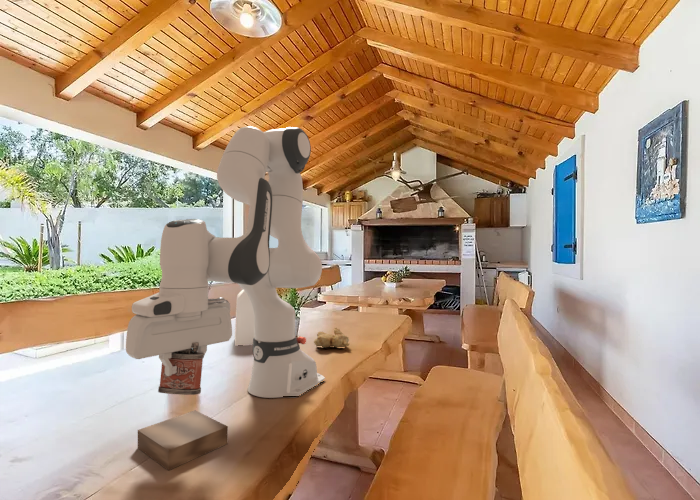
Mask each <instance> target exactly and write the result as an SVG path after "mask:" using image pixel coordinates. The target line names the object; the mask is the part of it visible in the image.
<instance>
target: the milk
mask: <svg viewBox="0 0 700 500" xmlns="http://www.w3.org/2000/svg"><path fill="white" fill-rule="evenodd" d="M235 304H236V305H235V306H236V308H235V324H234V325H235V327H234V328H235V329H234V330H235V331H234V345H235V346H236V347H239V346H238V345H243V346H250V345H249V344H253V338H254V337H255V324H254V311H253V307H252V304H251V301H250V299H249V297H248V295H247V294H246V292H245V291H244V290H243V289H242V290H240V291H239V292H238V293H237V295H236V303H235Z"/></svg>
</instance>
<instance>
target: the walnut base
mask: <svg viewBox="0 0 700 500" xmlns="http://www.w3.org/2000/svg"><path fill="white" fill-rule="evenodd" d="M228 433H229V430H228V426H227V425H226V424H224V423H222V422H220V421H217V420H216V419H214V418H212V417H209V416H208V415H207V414H206V415H205V414H203V413H202V412H200V411H198V410H191V411H189V412H186V413H183V414H180V415H178V416H174V417H172V418H169V419H166V420H163V421H160V422H157V423H154V424H151V425H148V426H145V427H142V428H140V429H137V449H138V450H140V451H141V452H143V453H144V454H145V455H146V456H147V457H149V458H151V459H152V460H154V462H156V463H157V464H159V465H160V466H162V467H163V468H164V469H166V471H170V470H172V469H175V468H176V467H179V466H181V465H184V464H186V463H188V462H191V461H192V460H195V459H197V458H200V457H201V456H204V455H207V454H208V453H211V452H213V451H215V450H217V449H219V448H221V447H224V446H226V445H227V444H228V442H229V441H228V435H229V434H228Z"/></svg>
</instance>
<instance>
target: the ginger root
mask: <svg viewBox="0 0 700 500" xmlns="http://www.w3.org/2000/svg"><path fill="white" fill-rule="evenodd" d="M333 330H334V331H333V333H334V334H331V333H327V332H325V331H318V332H317V333H316V336H317V338H315V339H314V341H313V343H314V345H315V346H316V347H317V346H322V347H325V348H331V347H330V346H334V347H345V346H346V347H349V346H350V343H349V342H350V338H349V336H348V335H345V334H344V333H343V332H342V331H341V330H340V328H337V327H334V328H333ZM334 347H333V348H334ZM346 347H345V348H346Z"/></svg>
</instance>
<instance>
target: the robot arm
mask: <svg viewBox="0 0 700 500" xmlns="http://www.w3.org/2000/svg"><path fill="white" fill-rule="evenodd" d="M311 148H312V147H311V142H310V139H309V136H308V135H307V133H306V132H305V131H304V130H303V129H302V128H300V127H293V126H292V127H291V126H288V127H286V128H275V129H269V130H266V131H263V130H261V129H259V128H258V127H254V126H244V127H243V126H242V127H241V128H239V129H237V130H236V132H235V133H234V134H233V136H232V137H231V138H230V139H229V142H228V143H227V145H226V148H225V149H224V151H223V153H222V155H221V158H220V160H219V161H220V162H219V164H218V166H217V171H216V178H217V182H218V185H219V186H220V188H221V190H222V191H223V192H224V193H225V194H226V195H228V196H229V197H230V198H231V199H234V200H235V201H237V202H240V203H242V204H245V205H247V206H249V209H248V216H247V223H246V231H245V233H244V234H242V235H240V236H239V237H219V236H216V235H214V234H212V233H211V232H209V230H208V228H207V224H206V221H205V220H203V219H198V218H186V219H177V220H172V221H171V220H170V221H169V222H167V223H165V225H164V227H163V230H162V233H161V239H160V246H159V247H160V248H159V264H160V265H159V267H160V269H161V279H160V283H159V292H156V293H153V294H152V295H149V296H147V297H144V298H142V299H139V300H137V301H135V302H133V303H132V305H131V312H132V313H133V314H135V315H134V316H132V317H131V318H130V320H129V322H128V325H127V329H126V336H125V337H126V338H125V352H126V353H127V354H128V356H129V357H131V358H133V359H135V360H142V359H145V358H146V359H147V358H151V357H157V356H158V359H159V360H160V361H161V364H162V363H163V365H164V366H165V375H166V376H172V375H175V374H177V371H176V370H177V366H176V365H172V364H171V363H170V361H169V359H168V358H171V354H172V352H176V351H181V350H186V349H191V346H192V343H196V342H199V347H198V350H197V352H200V353H204V356H206V353H207V351H208V346H210V345H215V344H220V343H224V342H229V341H230V340H231V338H232V336H233V327H232V318H231V317H232V316H231V303H230V301H228V299H226V298H225V297H217V298H209V282H215V283H216V282H217V283H235V284H237V285H238V286H240V288H242V290H244V291H245V292H246V294H247V295H248V297H249V299H250V301H251V304H252V307H253V311H254V324H255V337H254V338H253V345H252V355H253V356H252V357H253V361H252V362H253V363H252V370H251V374H250V375H251V376H250V380H249V385H248V388H247V391H248V393H249V394H251V395H252V396H256V397H258V398H265V399H266V398H269V399H272V398H273V399H275V398H277V399H278V398H284V397H283V396H299V395H300V394H302V393H304V392H306V391H307V390H309V389H311V388H312V387H314V386H315V385H317V384H318V383H320V382H321V381H323V380H324V379H325V380H326V377H325V376H324V375H322V374H320V373H319V372H318V369H317V362H316V361H315V359H314V358H313V357H312V356H310V355H309V354H307V353H306V352H305V351H303V350H302V349H301V348H300V344H301V345H305V344H306V343H307V337H305V336H301V335H300V336H298V337H297V336H296V311H295V309H294V307H293V306H292V305H291V304H290V303H289V302H288V301H286V300H284V299H282V298H281V297H280V295H279V294H278V292H277V289H278V288H281V289H282V288H284V289H285V288H286V289H301V288H307V287H312V286H315V285H316V284H317V283H318V281H319V280H320V278H321V276H322V272H323V265H322V264H323V263H322V261H321V258H320V256H319V255H318V254H317V253H316V252H315V250H313V249H312V248H311V247H310V246H309V245H308V243H307V242H306V239H305V238H304V235H303V231H302V216H303V215H302V212H303V201H304V187H303V177H302V174H301V173H303V171H304V169H305V167H306V165H307V163H309V162H308V161H309V159H310V157H311V151H312V150H311ZM266 174H268V180H267V179H265V177H266ZM271 237H272V238H274V239H276V240H278V245H277V247H270V238H271ZM317 386H318V385H317ZM314 388H315V387H314ZM312 389H313V388H312ZM312 389H311V390H312ZM309 391H310V390H309ZM307 392H308V391H307ZM307 392H306V393H307ZM304 394H305V393H304ZM302 395H303V394H302ZM300 396H301V395H300ZM300 396H299V397H300Z"/></svg>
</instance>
